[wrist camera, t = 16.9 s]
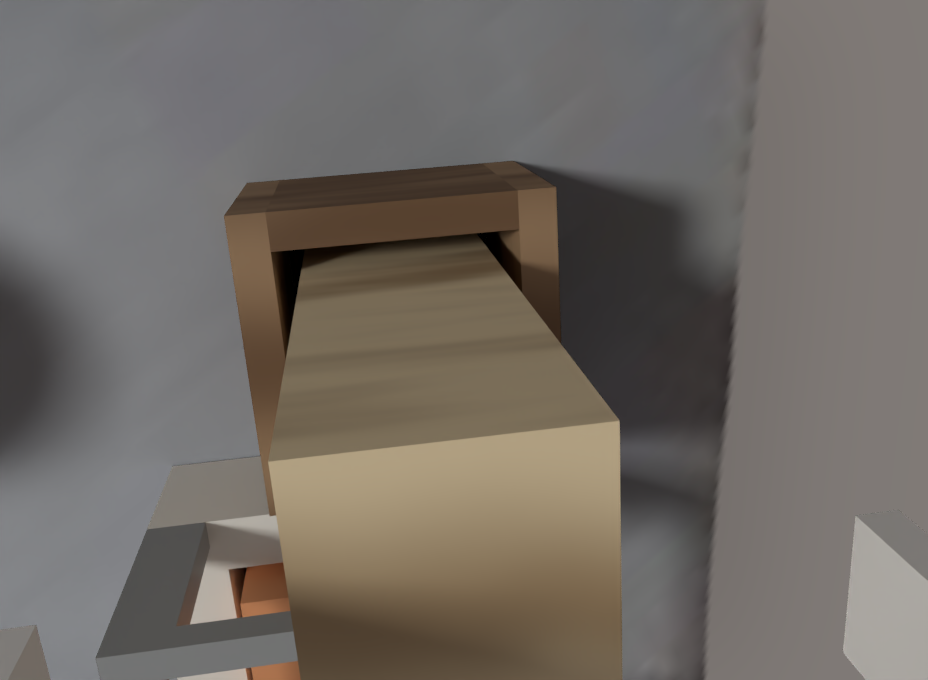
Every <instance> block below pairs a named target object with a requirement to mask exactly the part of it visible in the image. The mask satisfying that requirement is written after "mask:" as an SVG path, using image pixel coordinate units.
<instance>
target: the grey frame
mask: <svg viewBox="0 0 928 680" xmlns="http://www.w3.org/2000/svg"><path fill="white" fill-rule="evenodd" d="M282 562H283V558H282V551H281V544H280V538H279V531H278V524H277V518H276V516H269V509H268V503H267V496H266V489H265V483H264V476H263V470H262V463H261V457H260V456H258V457H249V458H240V459H232V460H223V461H215V462H206V463H197V464H189V465H180V466H172V469H171V471H170V474H169V476H168V479H167V481H166V484H165V486H164V489H163V491H162V494H161V496H160V499H159V501H158V504H157V506H156V509H155V511H154V514H153V516H152V519H151V521H150V524H149V526H148V529H147V531H146V534H145V536H144V539H143V541H142V544H141V546H140V549H139V551H138V554H137V556H136V559H135V561H134V564H133V566H132V569H131V571H130V574H129V576H128V579H127V581H126V584H125V586H124V589H123V591H122V594H121V596H120V598H119V601H118V603H117V606H116V608H115V611H114V613H113V616H112V618H111V621H110V623H109V626H108V628H107V631H106V633H105V636H104V638H103V641H102V643H101V646H100V648H99V651H98V653H97V656H96V658H95V659H96V663H97V667H98V672H99V676H100V680H169V679H173V678H177V679H178V680H253V676H252V670H251V667H258V666H265V665H272V664H280V663H287V662H294V661H298V658H297V652H296V645H295V638H294V632H293V625H292V618H291V611H286V612H278V613H271V614H264V615H256V616H249V617H242V611H241V605H240V603H241V597H242V592H243V586H244V580H245V575H246V569H247V567H251V566H259V565H267V564H275V563H282Z"/></svg>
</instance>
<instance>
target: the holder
mask: <svg viewBox="0 0 928 680" xmlns="http://www.w3.org/2000/svg"><path fill="white" fill-rule="evenodd" d="M224 220H225V226H226V233H227V239H228V246H229V252H230V259H231V266H232V272H233V279H234V285H235V292H236V299H237V305H238V312H239V318H240V325H241V331H242V338H243V345H244V351H245V358H246V364H247V371H248V378H249V384H250V391H251V397H252V404H253V410H254V417H255V424H256V430H257V437H258V443H259V450H260V457H261V463H262V470H263V476H264V483H265V489H266V496H267V503H268V509H269V516H276V511H275V504H274V497H273V491H272V484H271V477H270V471H269V464H268V460H269V454H270V448H271V442H272V437H273V431H274V425H275V419H276V413H277V408H278V402H279V396H280V390H281V384H282V378H283V373H284V367H285V361H286V355H287V349H288V344H289V338H290V332H291V326H292V320H293V315H294V309H295V303H296V300H295V293H294V285H293V277H292V270H291V262H290V254H289V250H299V249H310V248H320V247H331V246H342V245H353V244H364V243H375V242H386V241H397V240H408V239H419V238H430V237H440V236H451V235H462V234H473V233H484V232H486V235H487V248H488V249H489V251H490V252H491V253H492V254H493V256H494V257H495V258H496V260H497V261H498V262H499V264H500V265H501V266H502V268H503V269H504V270H505V271H506V273H507V274H508V275H509V277H510V278H511V279H512V281H513V282H514V283H515V285H516V286H517V287H518V288H519V290H520V291H521V292H522V294H523V295H524V296H525V298H526V299H527V300H528V302H529V303H530V304H531V305H532V307H533V308H534V309H535V311H536V312H537V313H538V315H539V316H540V317H541V319H542V320H543V321H544V322H545V324H546V325H547V326H548V328H549V329H550V330H551V332H552V333H553V334H554V336H555V337H556V338H557V339H558V341H559V342H560V343H561V323H560V292H559V260H558V229H557V197H556V187H555V186H554V185H552V184H550V183H549V182H547V181H545V180H544V179H542V178H540V177H539V176H537V175H536V174H534V173H532V172H531V171H529V170H527V169H526V168H524V167H523V166H521V165H519V164H518V163H516V162H514V161H506V162H494V163H482V164H470V165H458V166H446V167H434V168H422V169H410V170H398V171H386V172H374V173H362V174H350V175H338V176H326V177H314V178H302V179H290V180H278V181H266V182H254V183H247V184H246V185H245V187H244V188H243V190H242V191H241V192H240V194H239V195H238V197H237V198H236V199H235V201H234V202H233V204H232V205H231V207H230V208H229V209H228V211H227V212H226V214H225V215H224Z"/></svg>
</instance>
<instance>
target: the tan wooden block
mask: <svg viewBox="0 0 928 680" xmlns="http://www.w3.org/2000/svg"><path fill="white" fill-rule="evenodd" d="M268 464H269V471H270V477H271V484H272V491H273V497H274V504H275V511H276V518H277V524H278V531H279V538H280V544H281V551H282V558H283V565H284V571H285V578H286V585H287V591H288V598H289V605H290V611H291V618H292V625H293V632H294V638H295V645H296V652H297V658H298V665H299V672H300V678H301V680H622V602H621V501H620V421H619V419H618V418H617V417H616V415H615V414H614V413H613V411H612V410H611V409H610V407H609V406H608V405H607V404H606V402H605V401H604V400H603V398H602V397H601V396H600V394H599V393H598V392H597V390H596V389H595V388H594V387H593V385H592V384H591V383H590V381H589V380H588V379H587V377H586V376H585V375H584V373H583V372H582V371H581V370H580V368H579V367H578V366H577V364H576V363H575V362H574V360H573V359H572V358H571V356H570V355H569V354H568V353H567V351H566V350H565V349H564V347H563V346H562V345H561V343H560V342H559V341H558V339H557V338H556V337H555V336H554V334H553V333H552V332H551V330H550V329H549V328H548V326H547V325H546V324H545V322H544V321H543V320H542V319H541V317H540V316H539V315H538V313H537V312H536V311H535V309H534V308H533V307H532V305H531V304H530V303H529V302H528V300H527V299H526V298H525V296H524V295H523V294H522V292H521V291H520V290H519V288H518V287H517V286H516V285H515V283H514V282H513V281H512V279H511V278H510V277H509V275H508V274H507V273H506V271H505V270H504V269H503V268H502V266H501V265H500V264H499V262H498V261H497V260H496V258H495V257H494V256H493V254H492V253H491V252H490V251H489V249H488V248H487V247H486V245H485V244H484V243H483V241H482V240H481V239H480V237H479V236H478V235H477V234H476V233H473V234H462V235H451V236H440V237H430V238H419V239H408V240H397V241H386V242H375V243H364V244H353V245H342V246H331V247H320V248H310V249H305V251H304V256H303V262H302V268H301V274H300V280H299V285H298V291H297V297H296V303H295V309H294V315H293V320H292V326H291V332H290V338H289V344H288V349H287V355H286V361H285V367H284V373H283V378H282V384H281V390H280V396H279V402H278V408H277V413H276V419H275V425H274V431H273V437H272V442H271V448H270V454H269V460H268Z"/></svg>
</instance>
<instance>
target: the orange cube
mask: <svg viewBox="0 0 928 680" xmlns="http://www.w3.org/2000/svg"><path fill="white" fill-rule="evenodd" d="M240 605H241V611H242V617H249V616H256V615H264V614H271V613H278V612H286V611H290V605H289V598H288V591H287V585H286V578H285V571H284V565H283V562H282V563H275V564H267V565H259V566H251V567H247V569H246V575H245V580H244V586H243V592H242V597H241V603H240ZM251 670H252V676H253V680H301V678H300V672H299V665H298V661H294V662H287V663H280V664H272V665H265V666H258V667H251Z"/></svg>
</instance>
